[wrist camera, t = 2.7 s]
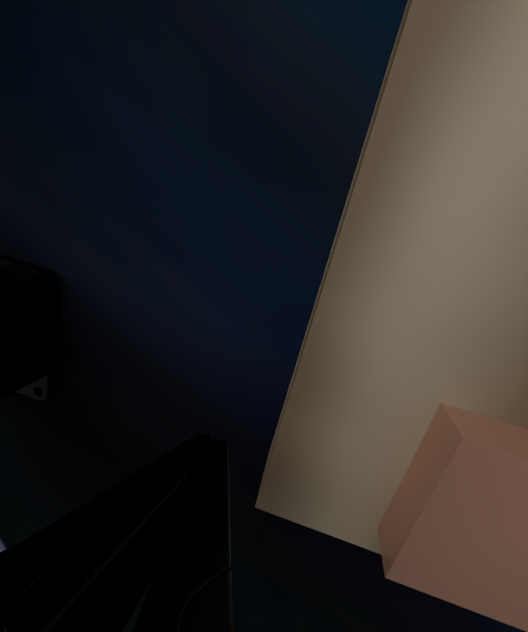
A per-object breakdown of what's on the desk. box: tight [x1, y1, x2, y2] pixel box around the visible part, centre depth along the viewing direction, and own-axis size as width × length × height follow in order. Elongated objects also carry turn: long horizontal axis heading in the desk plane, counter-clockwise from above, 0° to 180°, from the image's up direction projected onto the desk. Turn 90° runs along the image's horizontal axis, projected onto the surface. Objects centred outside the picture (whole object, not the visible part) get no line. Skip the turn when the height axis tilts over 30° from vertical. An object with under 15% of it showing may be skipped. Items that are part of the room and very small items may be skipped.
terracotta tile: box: [377, 403, 528, 632], centre depth 8 cm, size 5×5×2 cm
